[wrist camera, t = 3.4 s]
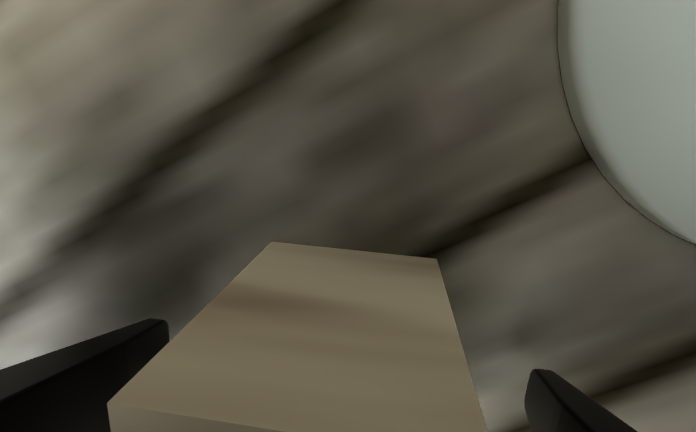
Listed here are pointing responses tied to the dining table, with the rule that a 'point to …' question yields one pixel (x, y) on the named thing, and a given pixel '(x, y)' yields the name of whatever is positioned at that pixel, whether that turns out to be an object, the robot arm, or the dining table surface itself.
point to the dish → (636, 100)
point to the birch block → (312, 352)
